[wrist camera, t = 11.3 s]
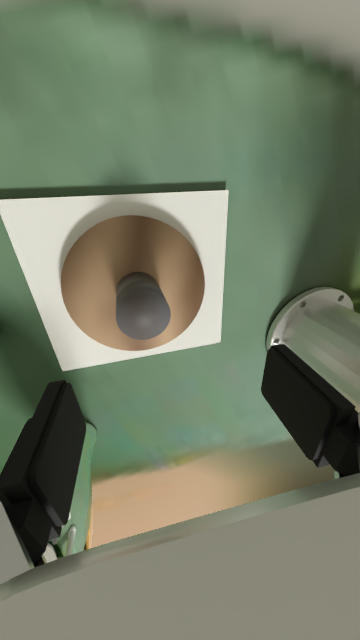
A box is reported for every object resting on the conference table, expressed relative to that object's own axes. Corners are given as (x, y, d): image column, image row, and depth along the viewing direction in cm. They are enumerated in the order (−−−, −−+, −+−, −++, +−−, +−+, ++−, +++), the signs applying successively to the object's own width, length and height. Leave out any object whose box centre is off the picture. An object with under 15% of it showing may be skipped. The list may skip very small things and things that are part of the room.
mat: (225, 190, 20) (228, 190, 19) (218, 339, 27) (220, 342, 27) (-2, 200, 16) (-6, 199, 16) (63, 367, 24) (62, 371, 23)
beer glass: (57, 459, 30) (11, 651, 17) (30, 428, 26) (-53, 641, 14) (108, 441, 31) (100, 612, 18) (88, 409, 27) (61, 593, 14)
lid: (202, 211, 19) (233, 213, 14) (200, 335, 25) (221, 368, 20) (42, 219, 17) (7, 225, 12) (83, 355, 23) (73, 398, 18)
